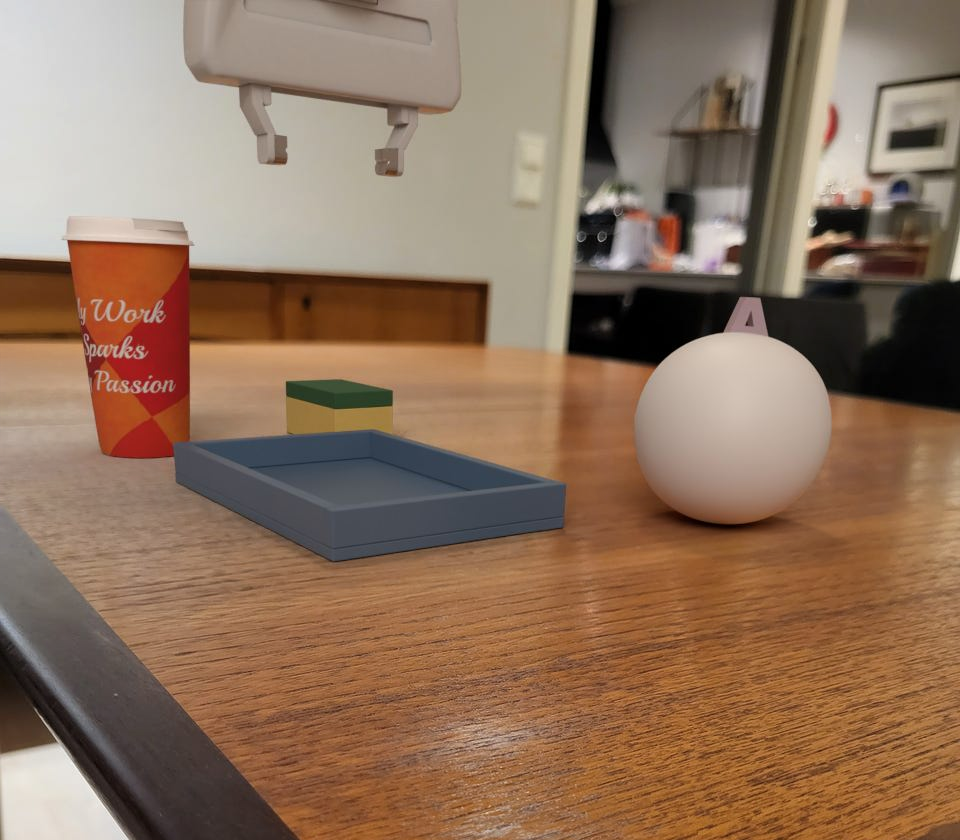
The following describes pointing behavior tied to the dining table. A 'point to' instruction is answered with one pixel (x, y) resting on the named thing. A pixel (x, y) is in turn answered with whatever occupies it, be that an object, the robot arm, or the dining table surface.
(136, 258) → the coffee cup
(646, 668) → the dining table surface
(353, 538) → the tray
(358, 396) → the sponge
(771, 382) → the ornament
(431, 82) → the robot arm
